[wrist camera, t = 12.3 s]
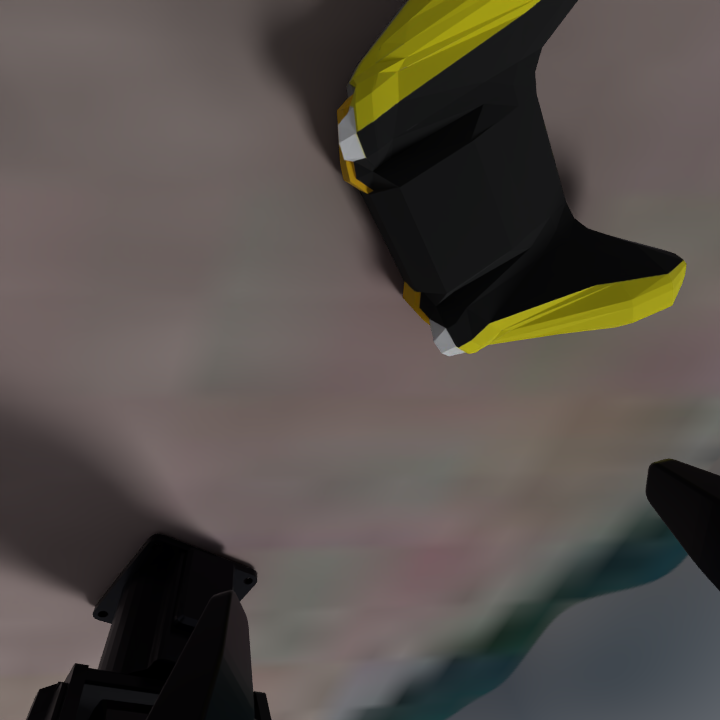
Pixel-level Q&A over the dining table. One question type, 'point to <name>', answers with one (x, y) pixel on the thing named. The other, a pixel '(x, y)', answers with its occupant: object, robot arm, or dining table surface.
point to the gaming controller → (483, 182)
